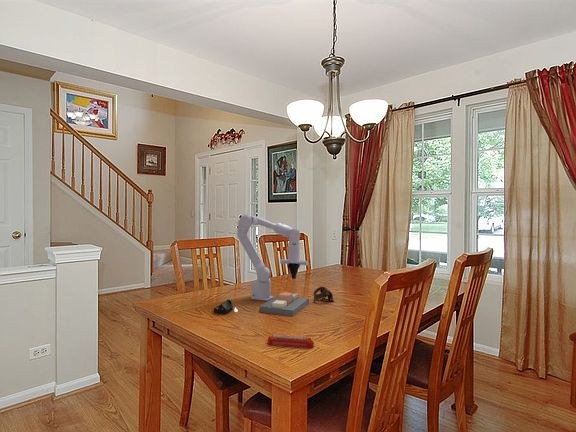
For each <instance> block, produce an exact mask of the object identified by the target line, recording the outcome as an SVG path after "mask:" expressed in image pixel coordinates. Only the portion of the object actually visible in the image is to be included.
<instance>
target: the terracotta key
mask: <svg viewBox="0 0 576 432" xmlns="http://www.w3.org/2000/svg"><path fill="white" fill-rule="evenodd" d="M292 294H293V292H286V291H283V292H280V293H279V294H278V295H279V297H278V300H281V301H287V304H290V303H291V302H292Z"/></svg>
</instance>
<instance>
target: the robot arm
mask: <svg viewBox="0 0 576 432" xmlns="http://www.w3.org/2000/svg"><path fill="white" fill-rule="evenodd" d="M258 225H259V226H261V227H265V228H267V229H270V230H273V231H274V233H275V234H277V235H279V236H282V237H285V238H288V253H287V254H288V257H287V258H288V259H286V258H285V259H283V258H282V259H280V260H279V264H283V265H285V264H287V268H288V269H289V272H290V275H291V279H293V280H294V279H296V278H297V274H298V271H299V269H300V267H301V265H302V266H308V265H309V261H308V260H303V259H301V258H300V252H301V251H300V249H301V248H300V247H301V245H300V244H301V243H300V237H301V232H300V230H299V229H297V228H296V227H293V226H292V225H287V224H285V223H284V222H277V223H273V222H271V221H269V220H267V219H265V218H262V217H259V216H255V215H251V214H244V215H241V216H240V217H239V220H238V222H237V232H236V233H237V234H236V235H237V238H238V239H239V241H240V243H241V245H242V247H243V249H244V251H245V252H246V254H247V256H248V258H249V259H250V261H251V263H252V265H253V267H254V271H255V272H256V276H257V279H254V280H253V281H252V282H251V287H250V289H251V290H250V291H251V292H250V293H251V294H250V295H251V296H250V300H258V301H266V302H268V301H269V300H271V299H273V298H274V297H275V296H273V295H272V291H271V288H272V283H271V282H272V280H271V279H270V278H271V277H270V276H271V270H270V268H268V267H267V266H266V265H265V263H264V262H263V260H262V259H261V257H260V255H259V253H258V252H257V250H256V248H255V246H254V244H253V243H252V241H251V239H250V237H249V235H248V233H249V230H250V228H251V226H258Z"/></svg>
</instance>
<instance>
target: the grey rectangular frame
mask: <svg viewBox="0 0 576 432" xmlns="http://www.w3.org/2000/svg"><path fill="white" fill-rule="evenodd" d="M278 297H279V294H278V295H275V296H274V297H273V298H271V299H270V300H268V301H266V302H264V303H262V304H261V305H259V313H267V314H273V315H280V316H286V317H287V316H288V317H294V316H296V315H297V314H298V313H299V312H300V311H301V310H303V309H304V308H305V307H306V306H307V305H309V303H310V297H301V296H297V299H296V300H295V301H294V300H292V302H291V303H290V304H287V306H286V307H285V308H275V307H272V303H273V302H274V301H276V300H278Z"/></svg>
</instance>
